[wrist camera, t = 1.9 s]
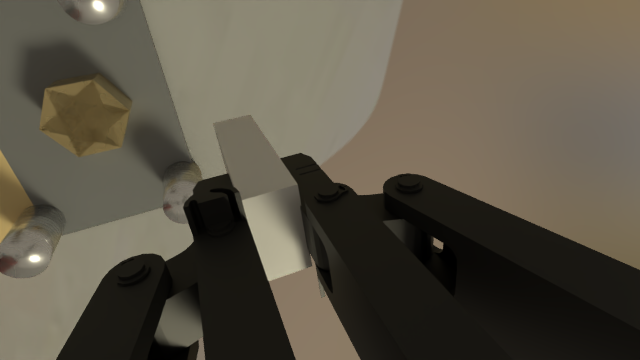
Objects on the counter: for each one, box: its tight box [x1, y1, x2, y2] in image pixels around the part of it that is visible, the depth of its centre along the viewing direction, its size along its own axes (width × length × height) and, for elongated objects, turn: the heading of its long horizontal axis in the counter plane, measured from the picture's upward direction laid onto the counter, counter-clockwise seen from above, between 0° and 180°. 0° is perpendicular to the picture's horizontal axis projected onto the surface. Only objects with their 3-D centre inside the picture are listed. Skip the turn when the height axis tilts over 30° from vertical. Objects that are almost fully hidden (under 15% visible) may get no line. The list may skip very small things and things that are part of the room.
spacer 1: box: [0, 204, 66, 278], centre depth 25 cm, size 3×3×5 cm
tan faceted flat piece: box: [39, 73, 133, 157], centre depth 24 cm, size 5×4×2 cm
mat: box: [0, 0, 192, 243], centre depth 24 cm, size 15×17×1 cm
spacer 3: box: [163, 161, 203, 224], centre depth 27 cm, size 3×3×5 cm
